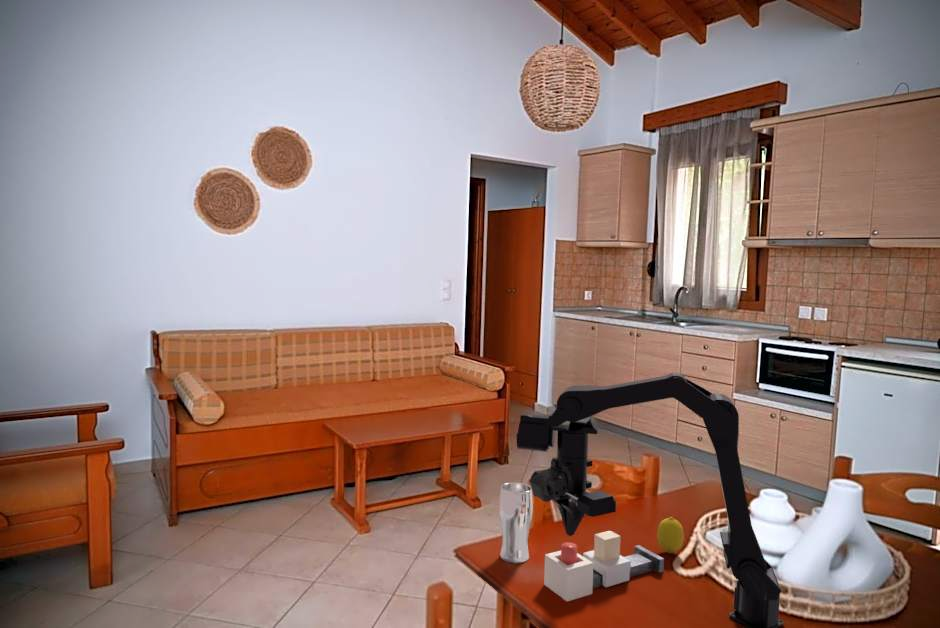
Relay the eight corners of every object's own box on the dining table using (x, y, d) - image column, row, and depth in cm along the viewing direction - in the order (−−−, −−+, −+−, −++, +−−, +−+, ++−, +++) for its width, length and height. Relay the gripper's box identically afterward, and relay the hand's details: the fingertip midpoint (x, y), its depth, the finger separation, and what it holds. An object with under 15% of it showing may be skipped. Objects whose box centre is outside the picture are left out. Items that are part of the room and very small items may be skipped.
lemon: (684, 560, 131) (686, 523, 131) (657, 557, 132) (659, 520, 132) (681, 549, 136) (682, 513, 136) (655, 546, 138) (656, 511, 137)
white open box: (592, 593, 116) (593, 562, 116) (567, 601, 114) (568, 569, 113) (568, 577, 123) (569, 548, 122) (544, 584, 120) (545, 554, 119)
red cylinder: (579, 573, 117) (580, 547, 117) (567, 576, 116) (568, 550, 115) (569, 566, 120) (570, 541, 120) (557, 569, 118) (558, 544, 118)
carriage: (629, 580, 121) (631, 539, 121) (606, 587, 118) (608, 545, 118) (605, 565, 127) (606, 525, 127) (582, 572, 124) (584, 531, 124)
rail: (663, 571, 126) (663, 558, 126) (598, 592, 117) (598, 577, 117) (638, 557, 132) (638, 545, 132) (574, 575, 123) (575, 562, 123)
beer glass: (492, 559, 130) (494, 489, 129) (506, 546, 136) (508, 479, 135) (523, 567, 126) (525, 495, 125) (536, 554, 133) (538, 485, 132)
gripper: (509, 446, 120) (507, 525, 121) (570, 474, 104) (567, 564, 105) (555, 440, 126) (552, 515, 127) (619, 465, 110) (616, 551, 111)
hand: (569, 535), depth 117 cm, fingers closed
